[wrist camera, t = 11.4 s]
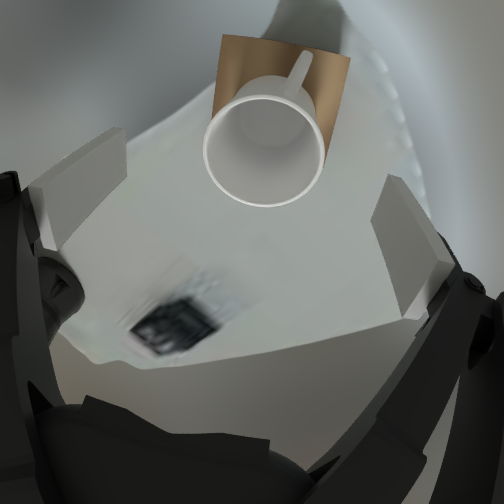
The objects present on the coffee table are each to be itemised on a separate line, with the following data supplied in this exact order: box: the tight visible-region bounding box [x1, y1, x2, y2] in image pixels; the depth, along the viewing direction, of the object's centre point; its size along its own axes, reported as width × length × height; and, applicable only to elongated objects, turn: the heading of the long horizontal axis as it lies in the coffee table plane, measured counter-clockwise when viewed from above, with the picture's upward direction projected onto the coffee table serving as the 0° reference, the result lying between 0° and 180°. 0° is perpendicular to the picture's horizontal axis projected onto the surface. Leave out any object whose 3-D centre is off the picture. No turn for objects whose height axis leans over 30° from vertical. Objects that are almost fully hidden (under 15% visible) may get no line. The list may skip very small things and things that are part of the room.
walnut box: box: [212, 34, 350, 167], centre depth 30 cm, size 12×12×6 cm
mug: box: [203, 50, 325, 207], centre depth 23 cm, size 12×8×12 cm
